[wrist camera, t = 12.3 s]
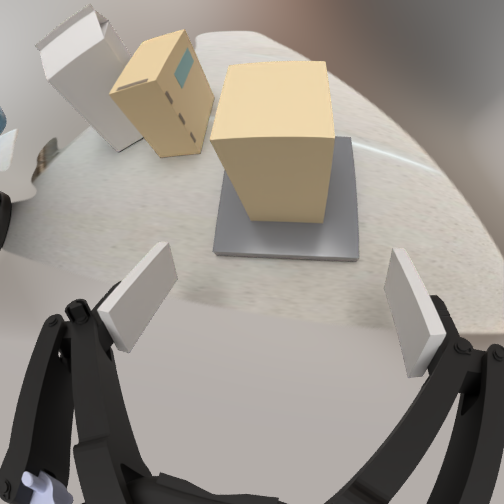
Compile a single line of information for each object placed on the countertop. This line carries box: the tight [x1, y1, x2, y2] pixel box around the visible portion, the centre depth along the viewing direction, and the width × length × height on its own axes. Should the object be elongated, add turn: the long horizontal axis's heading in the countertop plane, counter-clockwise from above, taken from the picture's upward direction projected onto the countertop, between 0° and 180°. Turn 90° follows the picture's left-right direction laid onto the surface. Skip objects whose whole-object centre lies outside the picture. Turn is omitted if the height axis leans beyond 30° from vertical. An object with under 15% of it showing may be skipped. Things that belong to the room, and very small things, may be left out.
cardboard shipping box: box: [109, 29, 214, 158], centre depth 24 cm, size 5×9×11 cm, turn 175°
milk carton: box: [35, 4, 143, 152], centre depth 22 cm, size 7×7×19 cm
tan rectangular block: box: [210, 61, 335, 223], centre depth 18 cm, size 6×6×11 cm
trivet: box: [213, 136, 359, 261], centre depth 24 cm, size 12×12×1 cm
